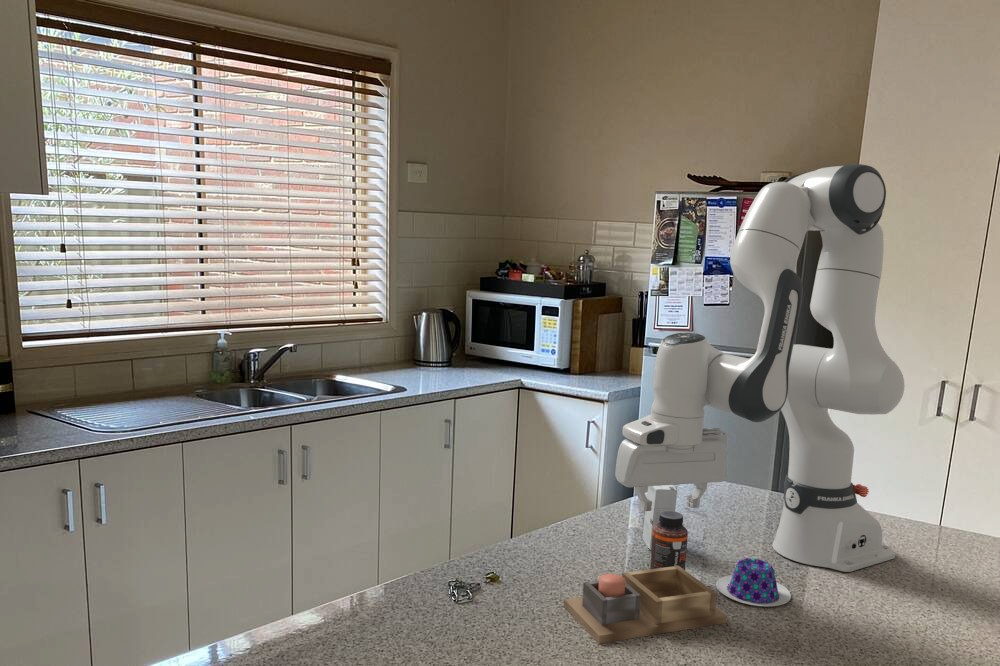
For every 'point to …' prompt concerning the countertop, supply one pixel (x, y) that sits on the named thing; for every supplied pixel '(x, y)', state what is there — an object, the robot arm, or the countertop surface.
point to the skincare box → (658, 508)
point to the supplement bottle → (669, 541)
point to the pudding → (754, 584)
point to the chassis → (646, 605)
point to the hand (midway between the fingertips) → (669, 508)
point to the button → (611, 585)
